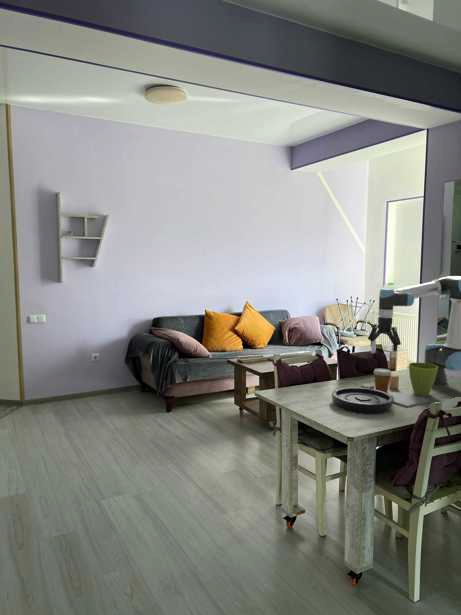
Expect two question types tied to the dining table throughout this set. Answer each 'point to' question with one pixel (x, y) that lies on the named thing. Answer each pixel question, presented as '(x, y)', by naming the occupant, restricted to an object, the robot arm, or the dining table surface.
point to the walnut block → (367, 386)
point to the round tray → (362, 400)
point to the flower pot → (422, 377)
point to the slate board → (408, 400)
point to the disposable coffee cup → (382, 379)
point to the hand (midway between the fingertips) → (383, 355)
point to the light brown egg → (393, 381)
